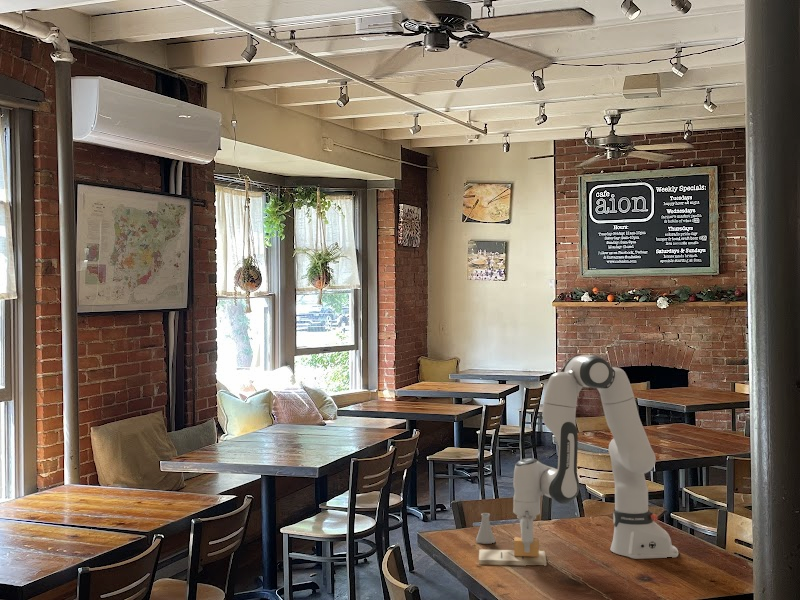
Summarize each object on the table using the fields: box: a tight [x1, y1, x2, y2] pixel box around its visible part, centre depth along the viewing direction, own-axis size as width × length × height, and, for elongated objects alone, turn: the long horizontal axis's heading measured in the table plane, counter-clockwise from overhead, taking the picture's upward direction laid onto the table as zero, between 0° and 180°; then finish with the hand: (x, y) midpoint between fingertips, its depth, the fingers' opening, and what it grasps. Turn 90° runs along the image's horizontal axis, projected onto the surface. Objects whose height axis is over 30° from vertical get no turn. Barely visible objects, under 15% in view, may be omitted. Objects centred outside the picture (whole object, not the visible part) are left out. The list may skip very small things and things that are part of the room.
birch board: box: [478, 548, 548, 567], centre depth 311 cm, size 22×12×2 cm, turn 84°
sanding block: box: [513, 536, 540, 557], centre depth 311 cm, size 8×4×5 cm, turn 83°
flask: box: [475, 512, 496, 545], centre depth 333 cm, size 7×7×10 cm
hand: (526, 549), depth 311 cm, fingers closed on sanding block, 4 cm apart
